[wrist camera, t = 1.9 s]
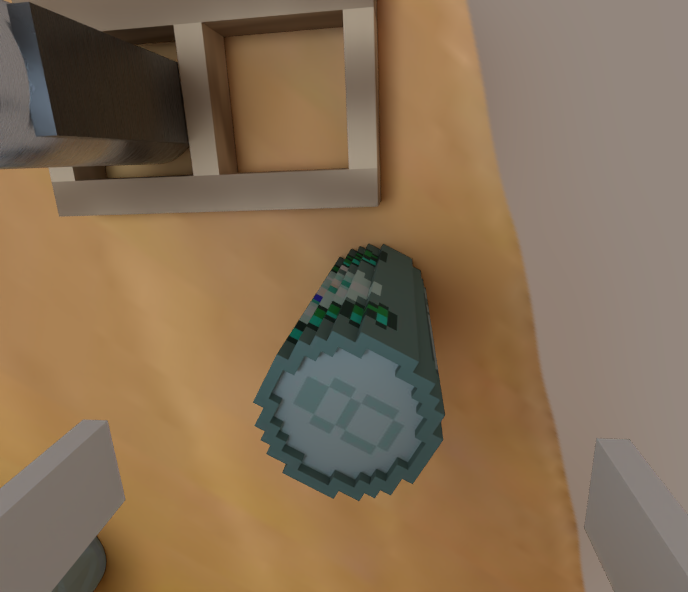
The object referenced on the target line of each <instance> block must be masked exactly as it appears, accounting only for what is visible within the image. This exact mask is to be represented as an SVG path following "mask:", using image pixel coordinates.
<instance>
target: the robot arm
mask: <svg viewBox="0 0 688 592" xmlns="http://www.w3.org/2000/svg"><path fill="white" fill-rule="evenodd" d="M124 501H125V496H124V491H123V487H122V482H121V478H120V473H119V469H118V465H117V460H116V456H115V451H114V447H113V443H112V438H111V434H110V429H109V425H108V421H105V420H82V421H81V422H80V423H79V424H77V425H76V426H75V427H74V428H73V429H71V430H70V431H69V432H68V433H67V434H65V435H64V436H63V437H62V438H60V439H59V440H58V441H57V442H56V443H54V444H53V445H52V446H51V447H50V448H48V449H47V450H46V451H45V452H44V453H42V454H41V455H40V456H39V457H38V458H36V459H35V460H34V461H33V462H32V463H30V464H29V465H28V466H27V467H26V468H24V469H23V470H22V471H21V472H20V473H18V474H17V475H16V476H15V477H14V478H12V479H11V480H10V481H9V482H8V483H6V484H5V485H4V486H3V487H2V488H0V592H52V590H53V589H54V588H55V587H56V585H57V584H58V583H59V582H60V580H61V579H62V578H63V577H64V575H65V574H66V573H67V572H68V570H69V569H70V568H71V567H72V566H73V564H74V563H75V562H76V561H77V559H78V558H79V557H80V556H81V554H82V553H83V552H84V551H85V549H86V548H87V547H88V546H89V544H90V543H91V542H92V541H93V539H94V538H95V537H96V536H97V535H98V533H99V532H100V531H101V530H102V528H103V527H104V526H105V525H106V523H107V522H108V521H109V520H110V518H111V517H112V516H113V515H114V513H115V512H116V511H117V510H118V508H119V507H120V506H121V505H122V504H123V502H124ZM584 529H585V531H586V533H587V535H588V537H589V539H590V541H591V543H592V546H593V548H594V550H595V552H596V554H597V556H598V558H599V560H600V563H601V565H602V567H603V569H604V571H605V573H606V576H607V578H608V580H609V582H610V584H611V586H612V588H613V590H614V592H688V514H687V513H686V512H685V510H684V509H683V508H682V507H681V505H680V504H679V503H678V501H677V500H676V499H675V497H674V496H673V495H672V493H671V492H670V491H669V490H668V488H667V487H666V486H665V485H664V483H663V482H662V480H661V479H660V478H659V477H658V475H657V474H656V473H655V471H654V470H653V469H652V468H651V466H650V465H649V464H648V462H647V461H646V460H645V458H644V457H643V456H642V455H641V453H640V452H639V451H638V449H637V448H636V447H635V445H634V444H633V443H632V442H631V440H630V439H605V438H596V445H595V452H594V459H593V467H592V474H591V482H590V489H589V497H588V503H587V511H586V518H585V525H584Z"/></svg>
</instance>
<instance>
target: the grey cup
mask: <svg viewBox="0 0 688 592" xmlns="http://www.w3.org/2000/svg"><path fill="white" fill-rule="evenodd" d="M105 568H106V556H105V552H104V549H103V546H102V545H101V543H100V541H99V540H98V538H97V537H95V538H94V539H93V541H92V542H91V543H90V544H89V546H88V547H87V548H86V549H85V551H84V552H83V553H82V554H81V556H80V557H79V558H78V559H77V561H76V562H75V563H74V564H73V566H72V567H71V568H70V569H69V570H68V572H67V573H66V574H65V575H64V577H63V578H62V579H61V580H60V582H59V583H58V584H57V585H56V587H55V588H54V589H53V590H52V592H93V591H94V590H95V588H96V587H97V585H98V583H99V582H100V580H101V578H102V577H103V574H104V571H105Z"/></svg>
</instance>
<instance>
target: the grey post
mask: <svg viewBox="0 0 688 592" xmlns="http://www.w3.org/2000/svg"><path fill="white" fill-rule="evenodd" d="M188 146H189V138H188V130H187V123H186V115H185V108H184V100H183V93H182V85H181V78H180V74H179V70H178V63H177V62H175V61H173V60H170V59H168V58H165V57H163V56H160V55H158V54H155V53H153V52H151V51H148V50H146V49H143V48H141V47H138V46H136V45H133V44H131V43H129V42H126V41H124V40H121V39H119V38H116V37H114V36H111V35H109V34H107V33H104V32H102V31H99V30H97V29H94V28H92V27H89V26H87V25H85V24H82V23H80V22H77V21H75V20H72V19H70V18H67V17H65V16H63V15H60V14H58V13H55V12H53V11H50V10H48V9H45V8H43V7H41V6H38V5H36V4H33V3H31V2H21V3H9V2H7V1H4V0H0V169H22V168H52V167H82V166H111V165H141V164H161V163H166V162H170V161H172V160H174V159H176V158H177V157H179V156H180V155H181V154H182V153H183V152H184V151H185V150H186V149H187V148H188Z"/></svg>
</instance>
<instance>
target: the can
mask: <svg viewBox="0 0 688 592" xmlns="http://www.w3.org/2000/svg"><path fill="white" fill-rule="evenodd" d="M253 403H255V404H257V405H259V406H261V407H263V410H262V412H261V414H260V416H259V418H258V420H257V422H256V424H255V426H256V427H258V428H260V429H262V430H263V431H265V432H264V434H263V436H262V438H261V441H263V442H265V443H267V444H269V445H270V447H269V449H268V451H267V455H269V456H271V457H273V458H275V459H277V460H279V461H281V462H283V463H285V464H286V465H285V467H284V470H283V473H284V474H286V475H288V476H290V477H292V478H294V479H296V480H297V481H299V482H301V483H303V484H305V485H307V486H309V487H311V488H313V489H315V490H317V491H319V492H321V493H323V494H325V495H327V496H329V497H331V498H333V499H334V497H335V496H336V494H337V493H338V491H340V492H342V493H344V494H346V495H348V496H350V497H352V498H354V499H356V500H358V501H360V499H361V498H362V496H363V495H364V493H365V494H367V495H369V496H371V497H373V498H375V497H376V496H377V494H378V493H379V491H380V490H381V491H383V492H385V493H387V494H389V495H391V494H392V493H393V491H394V490H395V488H396V487H397V485H398V484H399V482H400V481H401V479H404V480H406V481H408V482H410V483H412V484H413V483H414V481H415V480H416V478H417V477H418V476H419V474H420V473H421V471H422V470H423V468H424V467H425V465H426V464H427V463H428V461H429V460H430V458H431V457H432V455H433V454H434V452H435V451H436V450H437V448H438V447H439V445H440V444H441V442H442V441H443V435H442V427H441V421H442V419H443V418H444V416H445V412H444V405H443V399H442V392H441V386H440V379H439V373H438V366H437V360H436V353H435V347H434V340H433V334H432V327H431V321H430V314H429V308H428V301H427V295H426V288H425V287H424V283H423V279H422V278H421V271H420V270H418V269H416V268H415V267H413V265H412V259H411V258H409V257H407V256H406V255H404V254H402V253H400V252H398V251H396V250H394V249H392V248H390V247H388V246H386V245H385V244H383V245H382V247H381V249H378V248H376V247H374V246H373V245H371V244H368V246H367V247H366V249H364V248H362V247H361V246H360V247H359V249H358V251H357V252H356V251H355V250H353V249H351V250H350V252H349V253H348V255H347V257H346V259H343V258H341V257H339V259H338V260H337V262H336V264H335V265H334V267H333V268H332V270H331V271H330V273H329V274H328V276H327V278H326V279H325V281H324V282H323V284H322V285H321V287H320V288H319V290H318V291H317V293H316V295H315V296H314V298H313V299H312V301H311V302H310V304H309V305H308V307H307V308H306V310H305V312H304V313H303V315H302V316H301V318H300V319H299V321H298V322H297V324H296V326H295V327H294V329H293V330H292V332H291V333H290V335H289V336H288V338H287V339H286V341H285V343H284V344H283V346H282V347H281V349H280V350H279V352H278V353H277V355H276V357H275V359H274V361H273V363H272V365H271V367H270V369H269V371H268V373H267V375H266V377H265V379H264V381H263V383H262V385H261V387H260V389H259V391H258V393H257V395H256V397H255V399H254V401H253Z"/></svg>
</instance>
